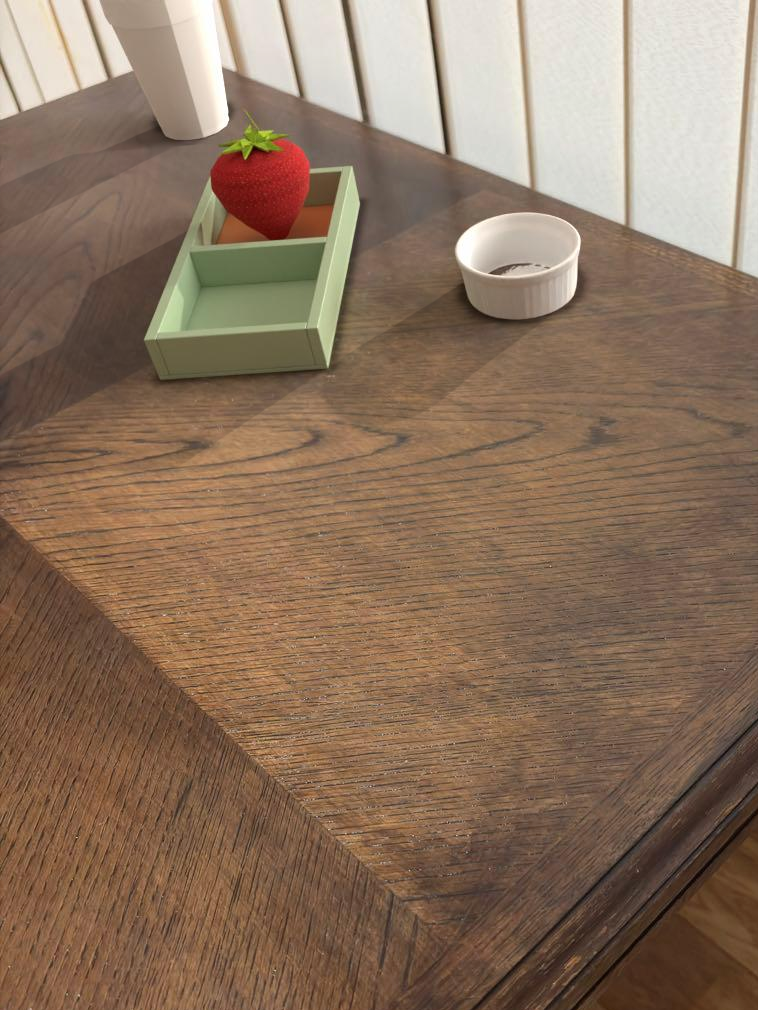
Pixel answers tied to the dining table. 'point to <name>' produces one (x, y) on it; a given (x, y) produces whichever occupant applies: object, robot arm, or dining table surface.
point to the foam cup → (174, 62)
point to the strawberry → (262, 181)
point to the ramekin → (514, 244)
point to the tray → (257, 288)
